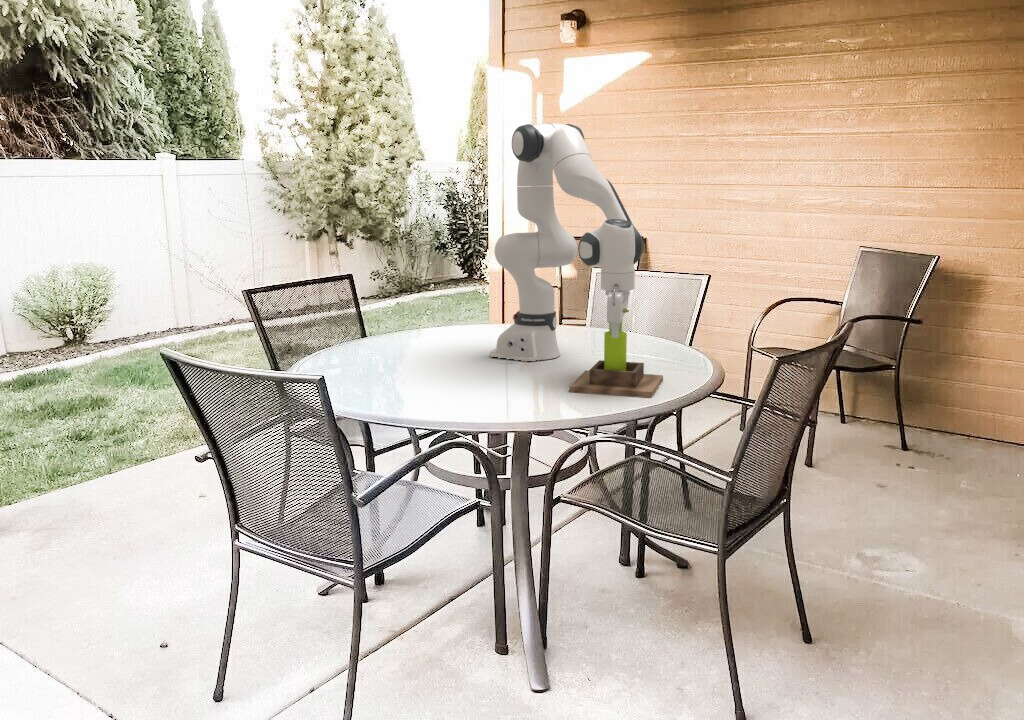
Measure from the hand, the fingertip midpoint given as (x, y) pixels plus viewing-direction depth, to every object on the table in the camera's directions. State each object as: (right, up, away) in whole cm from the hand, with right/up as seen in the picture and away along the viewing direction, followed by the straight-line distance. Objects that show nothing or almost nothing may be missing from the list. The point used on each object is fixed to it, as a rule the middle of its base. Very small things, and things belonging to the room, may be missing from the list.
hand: (616, 333), depth 208 cm
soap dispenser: (0, -13, +3) cm, 13 cm away
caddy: (0, -14, +3) cm, 14 cm away
